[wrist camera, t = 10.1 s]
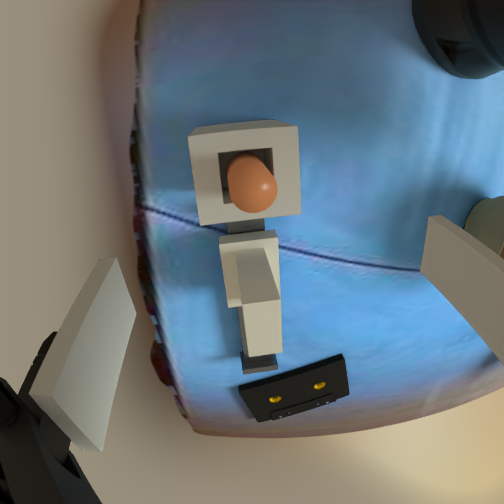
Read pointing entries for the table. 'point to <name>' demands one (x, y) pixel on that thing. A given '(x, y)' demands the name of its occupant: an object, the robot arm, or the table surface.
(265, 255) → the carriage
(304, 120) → the table surface
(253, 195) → the plunger
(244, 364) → the rail
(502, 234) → the planter bowl
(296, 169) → the housing
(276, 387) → the black cassette tape
